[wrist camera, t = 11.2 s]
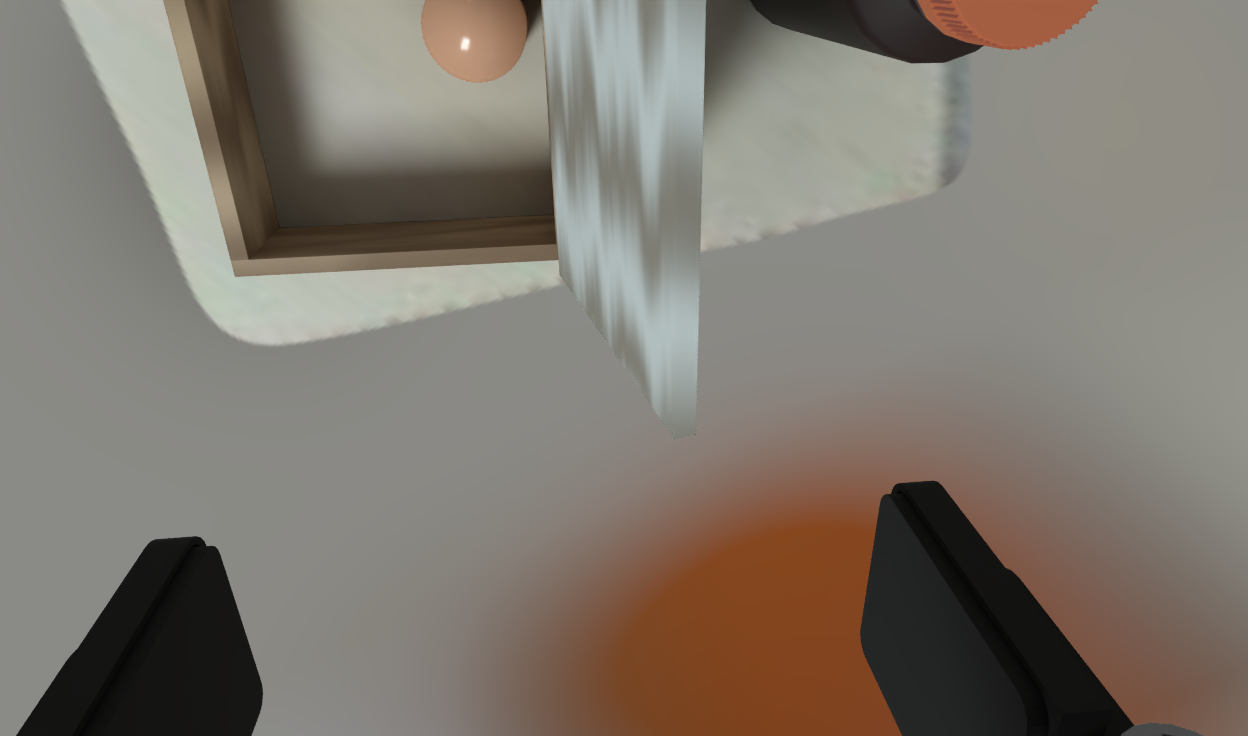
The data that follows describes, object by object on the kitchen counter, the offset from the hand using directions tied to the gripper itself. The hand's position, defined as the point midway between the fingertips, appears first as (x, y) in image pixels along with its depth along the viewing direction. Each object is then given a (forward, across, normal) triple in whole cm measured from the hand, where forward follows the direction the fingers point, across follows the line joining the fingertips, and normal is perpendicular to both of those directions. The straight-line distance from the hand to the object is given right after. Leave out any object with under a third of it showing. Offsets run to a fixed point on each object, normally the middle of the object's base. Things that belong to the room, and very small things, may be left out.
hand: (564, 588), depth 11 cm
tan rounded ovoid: (+33, +3, -6) cm, 34 cm away
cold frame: (+33, +5, -2) cm, 34 cm away
